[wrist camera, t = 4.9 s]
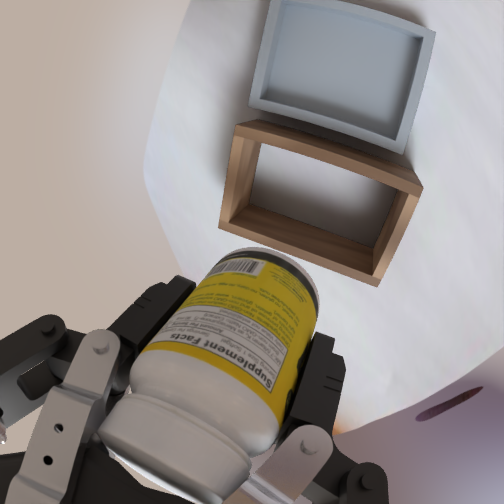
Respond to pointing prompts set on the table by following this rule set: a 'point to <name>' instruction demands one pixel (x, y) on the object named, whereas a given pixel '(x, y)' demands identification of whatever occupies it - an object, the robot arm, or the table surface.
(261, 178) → the table surface
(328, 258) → the caddy
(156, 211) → the table surface
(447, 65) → the table surface
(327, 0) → the tray
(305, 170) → the table surface
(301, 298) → the supplement bottle
